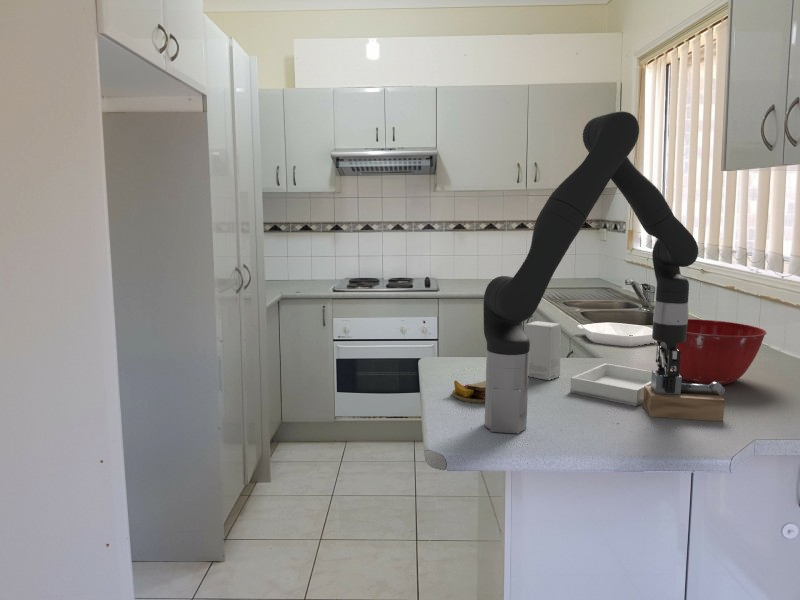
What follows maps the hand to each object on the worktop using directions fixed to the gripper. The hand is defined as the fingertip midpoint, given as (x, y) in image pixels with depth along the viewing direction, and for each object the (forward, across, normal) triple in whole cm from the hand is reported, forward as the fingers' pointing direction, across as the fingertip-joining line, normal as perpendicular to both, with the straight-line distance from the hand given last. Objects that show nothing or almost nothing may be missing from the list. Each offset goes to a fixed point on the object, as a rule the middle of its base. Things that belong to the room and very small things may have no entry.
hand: (665, 387), depth 157 cm
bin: (+6, +17, +8) cm, 20 cm away
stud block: (+6, 0, -4) cm, 7 cm away
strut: (+1, 0, -5) cm, 5 cm away
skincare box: (+6, +27, +28) cm, 39 cm away
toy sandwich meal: (+6, +3, +44) cm, 45 cm away
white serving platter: (+7, +88, -1) cm, 88 cm away
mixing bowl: (+6, +35, -18) cm, 40 cm away
